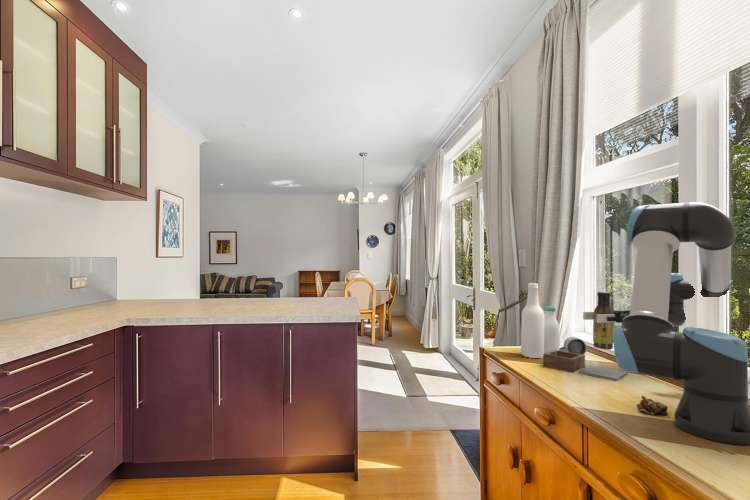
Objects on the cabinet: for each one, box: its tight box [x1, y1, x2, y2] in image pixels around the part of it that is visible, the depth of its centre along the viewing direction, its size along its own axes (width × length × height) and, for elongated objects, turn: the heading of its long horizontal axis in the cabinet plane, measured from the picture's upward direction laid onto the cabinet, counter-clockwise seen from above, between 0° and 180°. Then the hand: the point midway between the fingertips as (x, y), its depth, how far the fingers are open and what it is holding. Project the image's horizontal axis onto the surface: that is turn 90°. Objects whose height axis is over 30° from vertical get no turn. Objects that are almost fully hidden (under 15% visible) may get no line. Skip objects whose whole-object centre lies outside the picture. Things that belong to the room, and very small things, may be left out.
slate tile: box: [578, 364, 629, 382], centre depth 142 cm, size 12×12×1 cm
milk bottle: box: [543, 306, 560, 354], centre depth 170 cm, size 8×8×20 cm
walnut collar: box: [542, 350, 586, 373], centre depth 150 cm, size 11×11×4 cm
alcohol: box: [520, 282, 544, 359], centre depth 166 cm, size 9×9×30 cm
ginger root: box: [635, 395, 671, 419], centre depth 109 cm, size 7×12×4 cm, turn 155°
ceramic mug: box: [559, 336, 588, 355], centre depth 170 cm, size 11×8×8 cm
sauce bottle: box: [592, 291, 615, 350], centre depth 142 cm, size 6×6×20 cm
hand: (590, 317), depth 141 cm, fingers closed on sauce bottle, 6 cm apart
